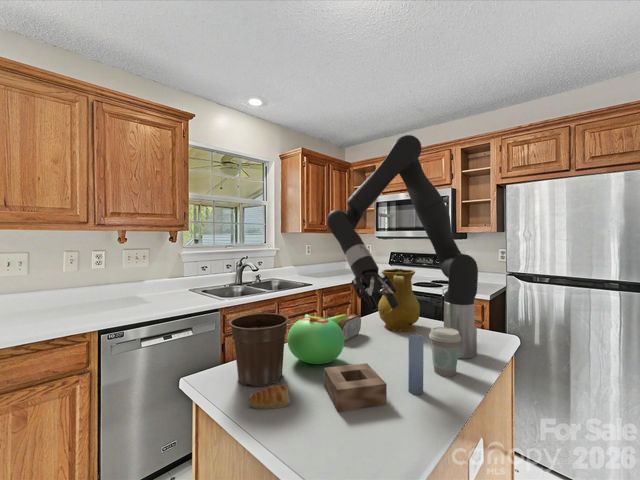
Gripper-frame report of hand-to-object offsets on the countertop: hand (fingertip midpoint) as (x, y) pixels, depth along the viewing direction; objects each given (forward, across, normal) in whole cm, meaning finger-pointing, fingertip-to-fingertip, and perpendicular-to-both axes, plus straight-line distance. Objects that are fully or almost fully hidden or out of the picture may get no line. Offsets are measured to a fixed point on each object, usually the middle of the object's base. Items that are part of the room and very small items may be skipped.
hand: (385, 308), depth 90 cm
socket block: (+17, -14, +11) cm, 24 cm away
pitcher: (-4, +39, +30) cm, 50 cm away
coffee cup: (+20, +16, +4) cm, 26 cm away
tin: (-5, +15, +34) cm, 37 cm away
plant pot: (+2, -27, +30) cm, 40 cm away
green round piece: (+2, -8, +28) cm, 29 cm away
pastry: (+12, -31, +19) cm, 39 cm away
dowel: (+22, 0, +4) cm, 22 cm away
